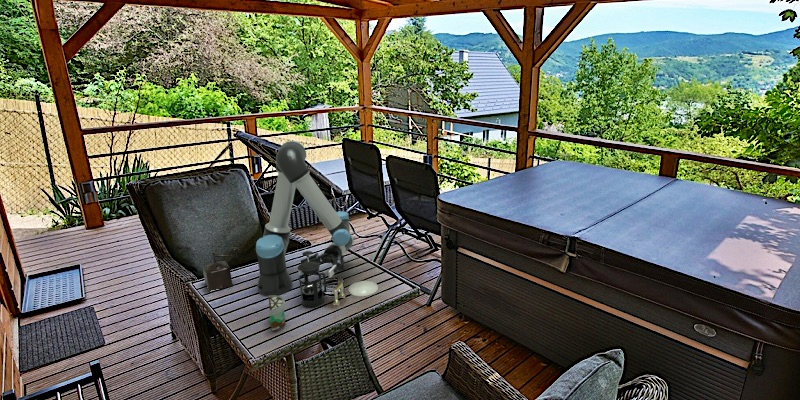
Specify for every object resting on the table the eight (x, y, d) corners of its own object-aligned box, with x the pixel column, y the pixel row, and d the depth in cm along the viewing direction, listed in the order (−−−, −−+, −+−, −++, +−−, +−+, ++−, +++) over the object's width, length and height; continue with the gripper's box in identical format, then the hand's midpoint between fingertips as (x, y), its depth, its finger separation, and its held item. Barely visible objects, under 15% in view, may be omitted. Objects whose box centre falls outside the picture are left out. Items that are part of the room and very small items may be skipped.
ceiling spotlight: (333, 305, 186) (332, 290, 184) (338, 289, 199) (337, 275, 197) (342, 305, 186) (341, 290, 184) (347, 289, 199) (345, 275, 197)
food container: (289, 331, 170) (286, 308, 167) (272, 334, 168) (268, 311, 165) (287, 314, 181) (284, 292, 178) (271, 317, 179) (268, 295, 176)
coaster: (346, 297, 192) (346, 295, 192) (350, 282, 205) (350, 281, 205) (377, 296, 192) (377, 295, 192) (379, 281, 204) (378, 280, 204)
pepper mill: (209, 293, 199) (203, 256, 194) (204, 284, 208) (198, 248, 203) (245, 283, 207) (239, 247, 202) (239, 274, 216) (233, 240, 211)
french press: (305, 311, 183) (299, 259, 176) (296, 302, 190) (290, 252, 183) (331, 302, 189) (326, 251, 182) (321, 293, 196) (316, 244, 189)
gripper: (360, 262, 204) (343, 284, 184) (310, 257, 210) (288, 278, 191) (359, 246, 201) (341, 267, 182) (309, 242, 208) (286, 262, 188)
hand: (314, 273), depth 186 cm, fingers open, 13 cm apart
